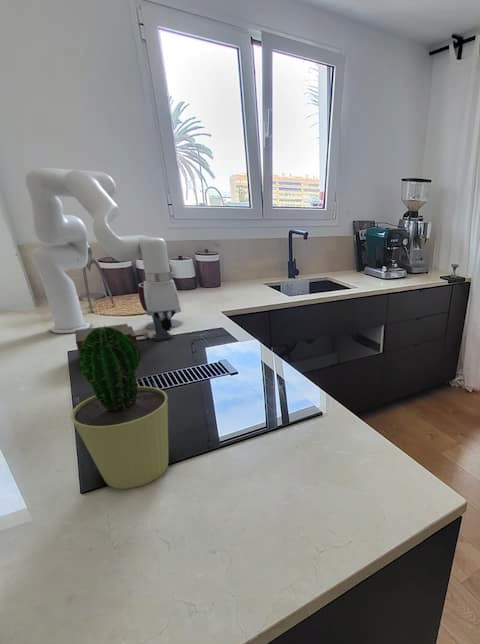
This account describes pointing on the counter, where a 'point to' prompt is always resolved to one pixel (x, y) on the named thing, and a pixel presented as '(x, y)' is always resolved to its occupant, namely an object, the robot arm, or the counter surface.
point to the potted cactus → (121, 413)
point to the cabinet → (84, 332)
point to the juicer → (100, 273)
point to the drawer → (138, 339)
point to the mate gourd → (142, 300)
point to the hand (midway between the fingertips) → (167, 329)
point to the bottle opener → (159, 330)
